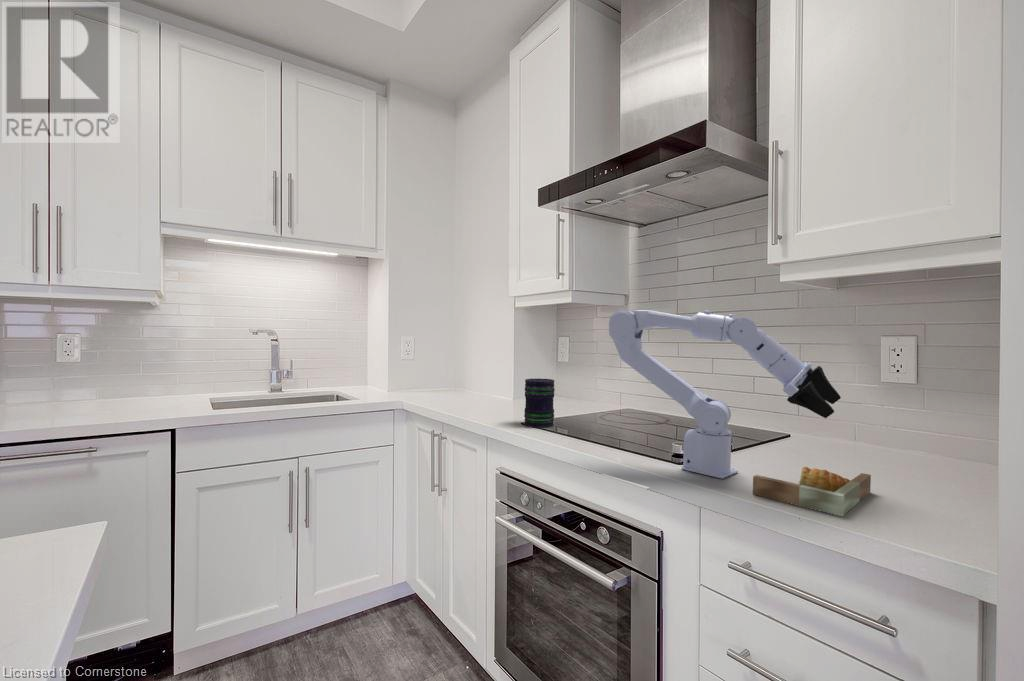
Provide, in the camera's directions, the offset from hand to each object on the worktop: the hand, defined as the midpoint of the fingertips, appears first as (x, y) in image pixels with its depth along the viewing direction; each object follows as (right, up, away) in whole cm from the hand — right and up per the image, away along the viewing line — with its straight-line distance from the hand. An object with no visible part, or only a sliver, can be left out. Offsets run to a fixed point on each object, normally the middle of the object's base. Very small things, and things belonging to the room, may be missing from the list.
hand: (833, 407), depth 96 cm
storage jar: (-56, -15, +62) cm, 84 cm away
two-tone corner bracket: (-6, -16, -2) cm, 17 cm away
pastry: (-1, -17, +1) cm, 17 cm away
